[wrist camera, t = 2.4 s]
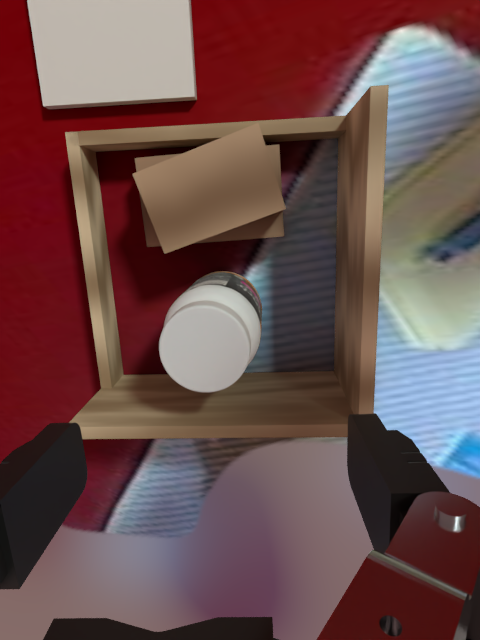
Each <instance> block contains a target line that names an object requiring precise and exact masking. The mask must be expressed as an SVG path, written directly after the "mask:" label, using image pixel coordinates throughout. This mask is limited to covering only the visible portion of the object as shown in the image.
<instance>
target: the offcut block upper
mask: <svg viewBox="0 0 480 640" xmlns="http://www.w3.org/2000/svg"><path fill="white" fill-rule="evenodd" d="M133 177H134V179H135V182H136V184H137V187H138V189H139V192H140V194H141V197H142V199H143V202H144V204H145V207H146V209H147V212H148V214H149V217H150V219H151V222H152V224H153V227H154V229H155V232H156V234H157V236H158V239H159V241H160V244H161V246H162V249H163V251H164V254H166V253H169V252H171V251H174V250H177V249H179V248H182V247H185V246H187V245H190V244H193V243H195V242H198V241H201V240H204V239H206V238H209V237H212V236H214V235H217V234H220V233H222V232H225V231H228V230H231V229H233V228H236V227H239V226H241V225H244V224H247V223H249V222H252V221H255V220H257V219H260V218H263V217H266V216H268V215H271V214H274V213H276V212H279V211H282V210H284V209H286V207H285V204H284V201H283V198H282V195H281V191H280V188H279V185H278V182H277V179H276V176H275V173H274V170H273V167H272V163H271V160H270V157H269V154H268V151H267V148H266V145H265V142H264V139H263V135H262V132H261V129H260V126H259V123H256V124H254V125H251V126H249V127H246V128H244V129H242V130H239V131H237V132H234V133H232V134H229V135H227V136H224V137H222V138H219V139H217V140H214V141H212V142H210V143H207V144H205V145H202V146H200V147H197V148H195V149H192V150H190V151H187V152H185V153H182V154H180V155H178V156H175V157H173V158H170V159H168V160H165V161H163V162H160V163H158V164H155V165H153V166H150V167H148V168H146V169H143V170H141V171H138V172H136V173H133Z"/></svg>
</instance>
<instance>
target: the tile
mask: <svg viewBox="0 0 480 640" xmlns="http://www.w3.org/2000/svg"><path fill="white" fill-rule="evenodd" d="M27 3H28V10H29V16H30V23H31V29H32V36H33V43H34V49H35V56H36V62H37V69H38V76H39V82H40V89H41V95H42V102H43V106H44V107H46V108H48V109H64V108H80V107H96V106H111V105H127V104H143V103H159V102H175V101H190V100H197V94H196V78H195V62H194V46H193V30H192V14H191V0H27Z"/></svg>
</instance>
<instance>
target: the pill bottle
mask: <svg viewBox="0 0 480 640" xmlns="http://www.w3.org/2000/svg"><path fill="white" fill-rule="evenodd" d="M261 321H262V305H261V300H260V297H259V294H258V292H257V290H256V289H255V287H254V286H253V285H252V284H251V283H250V282H249V281H248V280H247V279H246V278H244V277H242V276H241V275H238V274H236V273H233V272H228V271H217V272H213V273H210V274H207V275H205V276H203V277H201V278H200V279H198V280H197V281H196V282H195V283H193V285H192V286H190V287H189V288H188V289H187V290H186V291H185V292H184V293H183V294H182V295H181V296H180V297H178V298H177V299H176V301H175V302H174V303H173V304H172V306H171V307H170V309H169V311H168V313H167V315H166V318H165V322H164V328H163V330H162V333H161V336H160V339H159V354H160V359H161V362H162V364H163V366H164V368H165V370H166V372H167V373H168V374H169V376H170V377H171V378H172V379H173V380H174V381H176V382H177V383H178V384H180V385H181V386H183V387H185V388H187V389H189V390H192V391H196V392H216V391H220V390H223V389H225V388H227V387H229V386H231V385H232V384H233V383H235V382H236V381H237V380H238V379H239V378H240V377H241V376H242V374H243V373H244V371H245V369H246V367H247V365H248V364H249V363H250V362H251V361H252V359H253V358H254V356H255V354H256V352H257V350H258V347H259V344H260V339H261Z"/></svg>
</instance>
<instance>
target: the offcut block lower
mask: <svg viewBox="0 0 480 640" xmlns="http://www.w3.org/2000/svg"><path fill="white" fill-rule="evenodd" d="M266 148H267V151H268V154H269V157H270V160H271V163H272V167H273V170H274V173H275V176H276V179H277V182H278V185H279V188H280V191H281V195H282V187H281V167H280V147H279V144H277V145H267V146H266ZM178 155H180V154H172V155H162V156H151V157H141V158H135V164H136V171H137V172H138V171H141V170H143V169H146V168H148V167H150V166H153V165H155V164H158V163H160V162H163V161H165V160H168V159H170V158H173V157H175V156H178ZM139 193H140V192H139ZM140 200H141V208H142V215H143V222H144V229H145V237H146V244H147V247H156V246H161V244H160V241H159V239H158V236H157V234H156V232H155V229H154V227H153V224H152V222H151V219H150V217H149V214H148V212H147V209H146V207H145V204H144V202H143V199H142V197H141V194H140ZM283 236H284V226H283V210H282V211H279V212H276V213H274V214H271V215H268V216H266V217H263V218H260V219H257V220H255V221H252V222H249V223H247V224H244V225H241V226H239V227H236V228H233V229H231V230H228V231H225V232H222V233H220V234H217V235H214V236H212V237H209V238H206V239H204V240H201V241H198V242H195V243H207V242H219V241H232V240H245V239H258V238H270V237H283ZM193 244H194V243H193Z"/></svg>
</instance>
